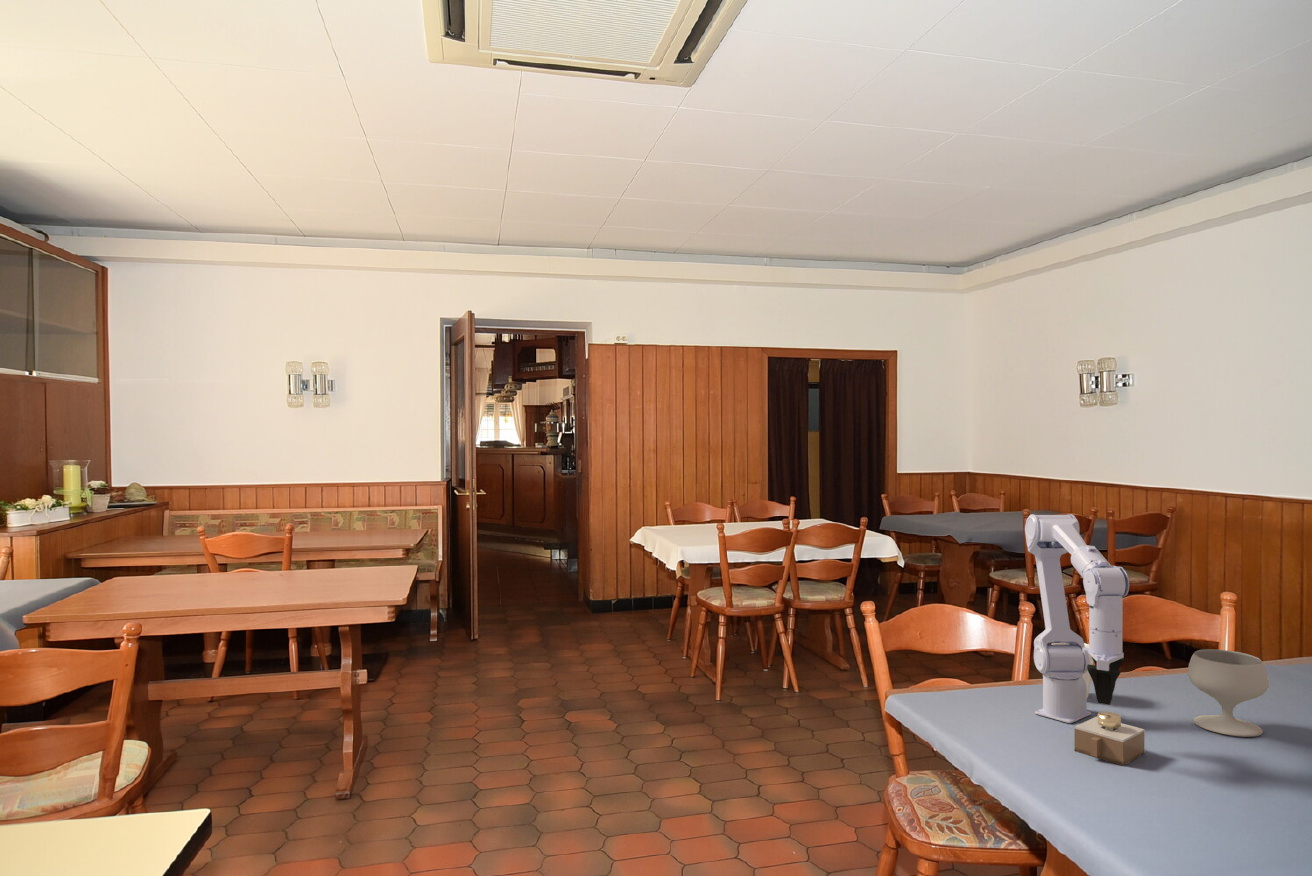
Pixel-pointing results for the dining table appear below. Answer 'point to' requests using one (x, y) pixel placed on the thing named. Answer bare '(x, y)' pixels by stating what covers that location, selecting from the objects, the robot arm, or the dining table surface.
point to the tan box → (1109, 741)
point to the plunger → (1109, 720)
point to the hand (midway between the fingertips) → (1105, 697)
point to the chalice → (1228, 687)
